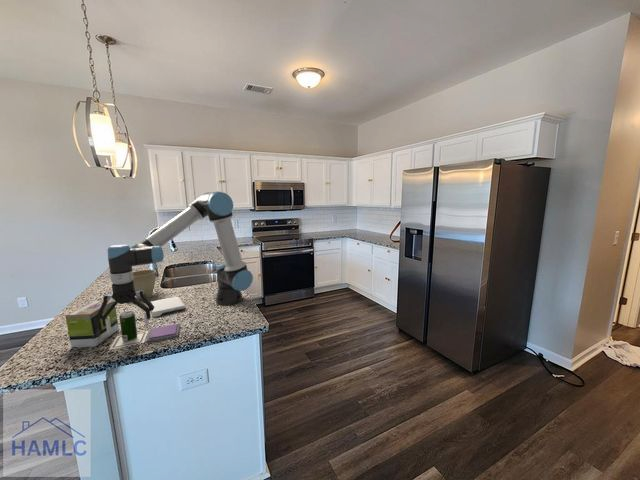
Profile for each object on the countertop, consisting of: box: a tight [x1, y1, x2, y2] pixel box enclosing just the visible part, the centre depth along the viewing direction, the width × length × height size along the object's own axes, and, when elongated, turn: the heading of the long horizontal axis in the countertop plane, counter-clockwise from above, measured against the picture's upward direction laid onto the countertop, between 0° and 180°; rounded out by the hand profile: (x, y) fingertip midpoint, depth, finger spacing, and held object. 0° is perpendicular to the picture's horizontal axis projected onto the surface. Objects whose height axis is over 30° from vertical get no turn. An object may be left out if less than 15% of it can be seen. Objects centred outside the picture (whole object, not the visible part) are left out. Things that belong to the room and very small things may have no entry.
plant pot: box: [132, 269, 157, 300], centre depth 168 cm, size 15×15×16 cm
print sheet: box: [108, 330, 149, 351], centre depth 117 cm, size 12×12×1 cm
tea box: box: [65, 300, 120, 348], centre depth 118 cm, size 15×10×15 cm
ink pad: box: [145, 323, 181, 344], centre depth 122 cm, size 12×12×2 cm
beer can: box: [119, 310, 138, 342], centre depth 116 cm, size 5×5×12 cm
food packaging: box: [150, 296, 186, 318], centre depth 151 cm, size 15×3×20 cm
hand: (128, 329), depth 116 cm, fingers open, 13 cm apart
